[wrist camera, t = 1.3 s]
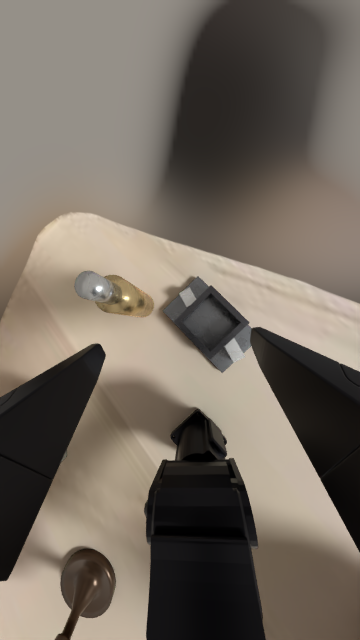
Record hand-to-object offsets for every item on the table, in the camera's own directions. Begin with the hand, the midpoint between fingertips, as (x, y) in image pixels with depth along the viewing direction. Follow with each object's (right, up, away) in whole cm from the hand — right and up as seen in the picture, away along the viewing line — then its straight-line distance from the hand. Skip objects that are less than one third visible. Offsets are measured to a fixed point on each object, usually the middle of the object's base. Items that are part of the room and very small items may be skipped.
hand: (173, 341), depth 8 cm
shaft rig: (+5, +1, +15) cm, 16 cm away
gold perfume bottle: (-6, +4, +16) cm, 18 cm away
